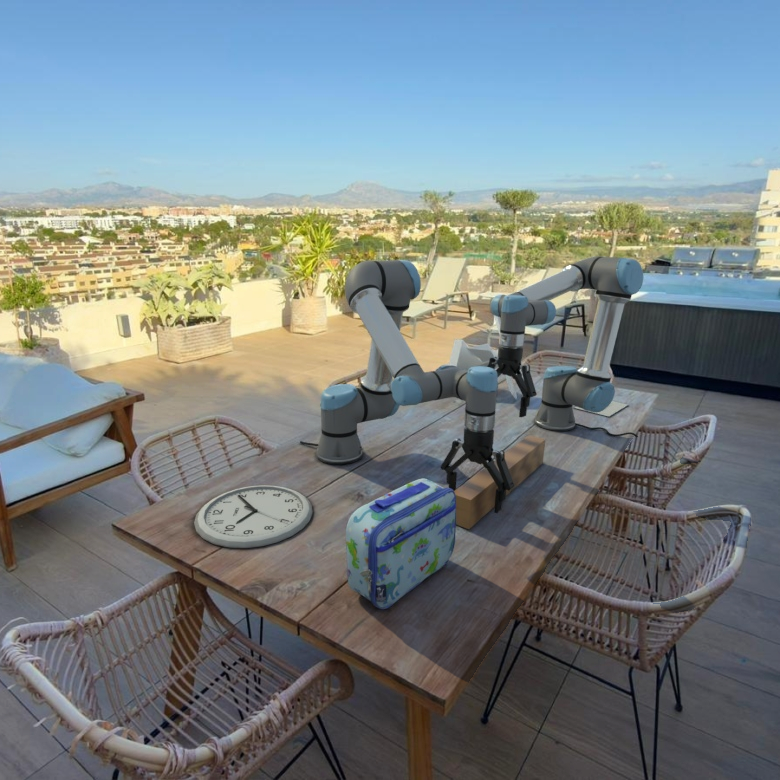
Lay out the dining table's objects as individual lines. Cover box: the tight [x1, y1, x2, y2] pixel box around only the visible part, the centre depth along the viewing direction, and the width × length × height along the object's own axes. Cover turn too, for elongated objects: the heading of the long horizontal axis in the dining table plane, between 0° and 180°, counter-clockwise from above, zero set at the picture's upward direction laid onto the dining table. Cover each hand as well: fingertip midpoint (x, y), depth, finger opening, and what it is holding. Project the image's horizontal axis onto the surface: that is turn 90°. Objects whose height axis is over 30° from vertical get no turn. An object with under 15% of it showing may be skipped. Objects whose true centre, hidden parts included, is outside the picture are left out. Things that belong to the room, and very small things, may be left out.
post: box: [454, 434, 546, 530], centre depth 152 cm, size 50×6×8 cm, turn 143°
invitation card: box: [573, 400, 629, 418], centre depth 226 cm, size 21×1×15 cm
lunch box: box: [345, 477, 457, 610], centre depth 110 cm, size 26×11×21 cm, turn 134°
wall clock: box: [193, 484, 313, 549], centre depth 137 cm, size 30×2×30 cm
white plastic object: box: [448, 315, 524, 400], centre depth 245 cm, size 37×45×31 cm
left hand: (474, 503), depth 139 cm, fingers open, 13 cm apart
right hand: (504, 410), depth 168 cm, fingers open, 13 cm apart
